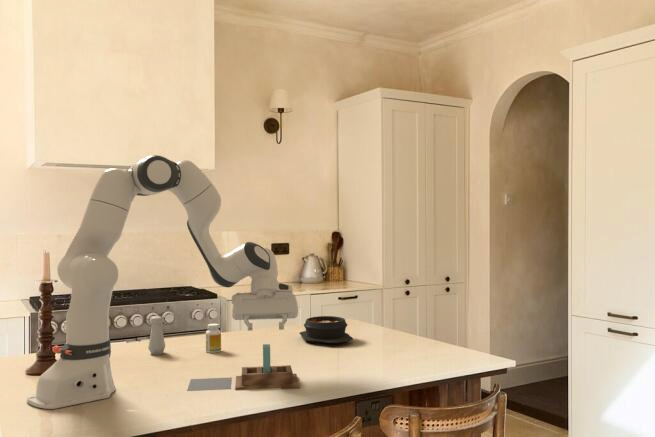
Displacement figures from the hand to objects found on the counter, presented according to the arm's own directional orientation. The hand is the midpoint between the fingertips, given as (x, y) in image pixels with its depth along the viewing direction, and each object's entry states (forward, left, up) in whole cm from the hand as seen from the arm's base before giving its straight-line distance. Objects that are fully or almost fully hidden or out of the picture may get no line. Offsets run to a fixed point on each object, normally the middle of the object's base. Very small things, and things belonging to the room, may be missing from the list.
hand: (265, 329), depth 184 cm
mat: (-16, +7, -14) cm, 23 cm away
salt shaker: (-1, +53, -15) cm, 55 cm away
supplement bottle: (+13, +39, -15) cm, 44 cm away
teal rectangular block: (-5, -5, -13) cm, 15 cm away
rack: (-5, -5, -14) cm, 16 cm away
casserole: (+51, +18, -15) cm, 56 cm away
